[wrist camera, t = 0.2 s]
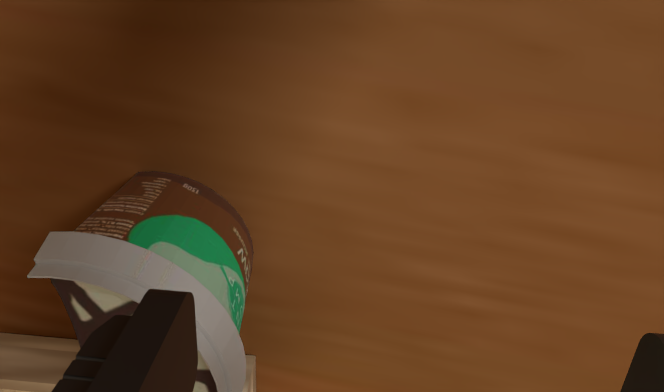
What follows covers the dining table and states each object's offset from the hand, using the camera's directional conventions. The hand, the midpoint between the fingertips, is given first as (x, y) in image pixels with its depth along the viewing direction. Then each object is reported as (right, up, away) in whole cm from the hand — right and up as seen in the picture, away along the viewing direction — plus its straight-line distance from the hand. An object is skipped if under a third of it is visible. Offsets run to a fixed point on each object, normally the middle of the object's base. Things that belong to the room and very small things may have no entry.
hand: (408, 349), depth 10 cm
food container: (-8, 0, +21) cm, 22 cm away
